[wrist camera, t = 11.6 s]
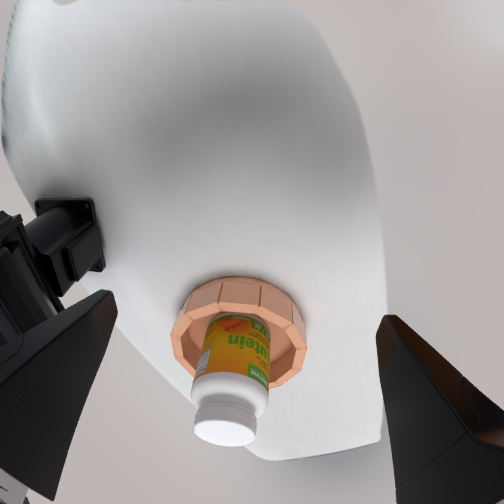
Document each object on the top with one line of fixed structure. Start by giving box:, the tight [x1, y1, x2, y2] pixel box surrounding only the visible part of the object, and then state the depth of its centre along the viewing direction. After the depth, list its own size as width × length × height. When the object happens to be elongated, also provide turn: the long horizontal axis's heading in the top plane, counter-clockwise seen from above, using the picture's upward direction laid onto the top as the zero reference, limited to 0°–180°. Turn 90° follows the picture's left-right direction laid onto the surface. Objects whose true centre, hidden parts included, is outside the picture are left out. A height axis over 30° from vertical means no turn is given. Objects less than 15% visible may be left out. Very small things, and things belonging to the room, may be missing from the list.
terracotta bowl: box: [170, 277, 307, 389], centre depth 24 cm, size 11×11×3 cm
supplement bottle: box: [191, 312, 271, 446], centre depth 21 cm, size 5×5×10 cm
